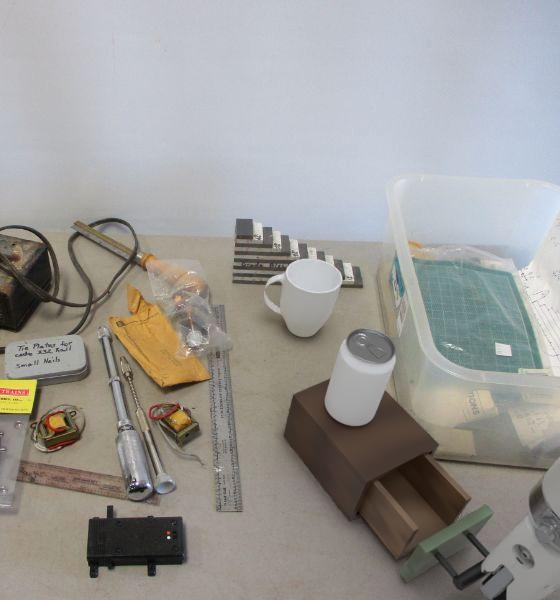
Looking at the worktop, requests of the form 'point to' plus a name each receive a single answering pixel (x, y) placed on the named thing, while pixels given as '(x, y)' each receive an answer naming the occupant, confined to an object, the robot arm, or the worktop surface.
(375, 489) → the drawer
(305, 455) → the cabinet
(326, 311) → the mug
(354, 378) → the can
